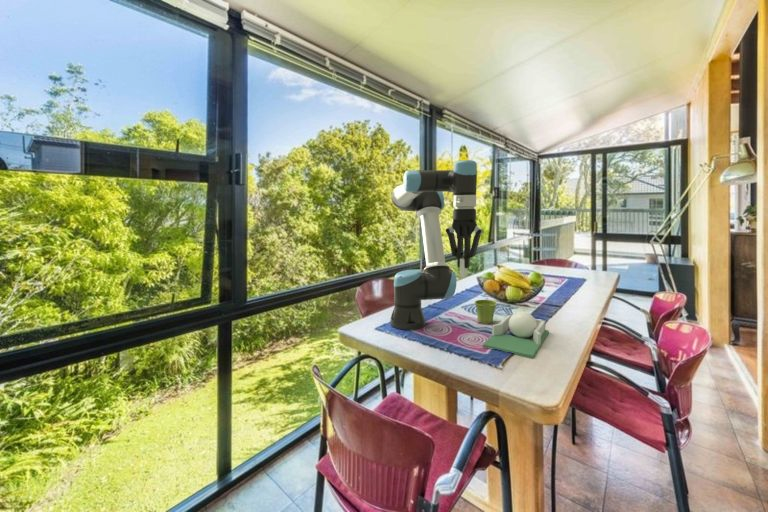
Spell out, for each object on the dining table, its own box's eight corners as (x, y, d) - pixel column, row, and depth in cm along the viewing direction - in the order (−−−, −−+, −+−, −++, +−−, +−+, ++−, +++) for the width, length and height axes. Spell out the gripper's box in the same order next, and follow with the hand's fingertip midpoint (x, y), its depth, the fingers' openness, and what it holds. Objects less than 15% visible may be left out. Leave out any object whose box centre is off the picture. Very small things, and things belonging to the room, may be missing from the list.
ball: (513, 303, 135) (514, 322, 140) (504, 319, 129) (505, 339, 134) (539, 309, 129) (539, 329, 134) (531, 326, 123) (532, 346, 128)
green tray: (482, 346, 124) (482, 333, 123) (504, 324, 146) (505, 313, 145) (533, 358, 114) (534, 344, 113) (549, 332, 136) (549, 320, 135)
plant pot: (497, 325, 145) (498, 306, 143) (474, 324, 147) (475, 305, 145) (495, 318, 154) (495, 300, 152) (473, 317, 156) (474, 299, 154)
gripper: (441, 208, 115) (441, 276, 119) (479, 208, 108) (477, 281, 111) (451, 208, 121) (450, 273, 125) (487, 207, 114) (485, 277, 117)
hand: (463, 276), depth 118 cm, fingers closed
